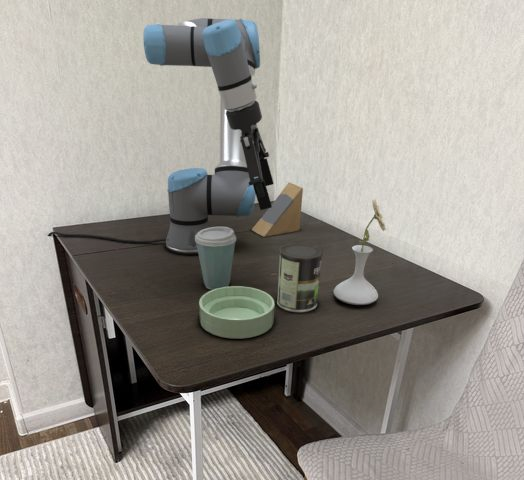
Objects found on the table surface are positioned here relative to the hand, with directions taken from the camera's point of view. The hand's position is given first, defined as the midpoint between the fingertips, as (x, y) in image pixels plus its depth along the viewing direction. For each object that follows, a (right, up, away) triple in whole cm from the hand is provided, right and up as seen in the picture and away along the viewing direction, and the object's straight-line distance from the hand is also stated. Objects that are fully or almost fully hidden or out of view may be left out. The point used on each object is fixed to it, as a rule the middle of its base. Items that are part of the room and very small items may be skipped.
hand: (267, 196), depth 118 cm
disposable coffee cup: (-14, -21, +11) cm, 27 cm away
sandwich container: (+3, +5, +52) cm, 52 cm away
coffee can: (+7, -26, +4) cm, 27 cm away
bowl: (-7, -31, -5) cm, 32 cm away
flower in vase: (+23, -24, +8) cm, 35 cm away
